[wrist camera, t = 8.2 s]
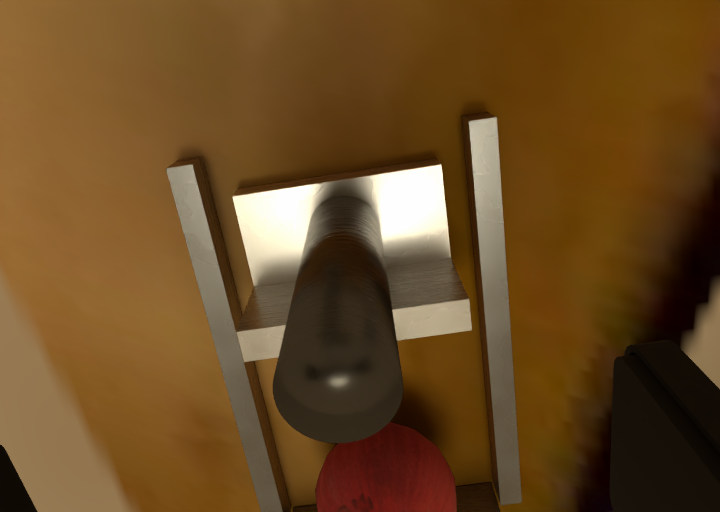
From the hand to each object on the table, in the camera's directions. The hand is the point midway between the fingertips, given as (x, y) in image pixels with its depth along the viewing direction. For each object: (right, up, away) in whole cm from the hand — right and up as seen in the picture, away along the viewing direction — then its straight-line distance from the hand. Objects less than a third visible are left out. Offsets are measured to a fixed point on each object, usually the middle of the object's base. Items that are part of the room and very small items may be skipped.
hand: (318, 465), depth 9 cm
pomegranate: (+2, -5, +19) cm, 20 cm away
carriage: (0, +5, +15) cm, 15 cm away
